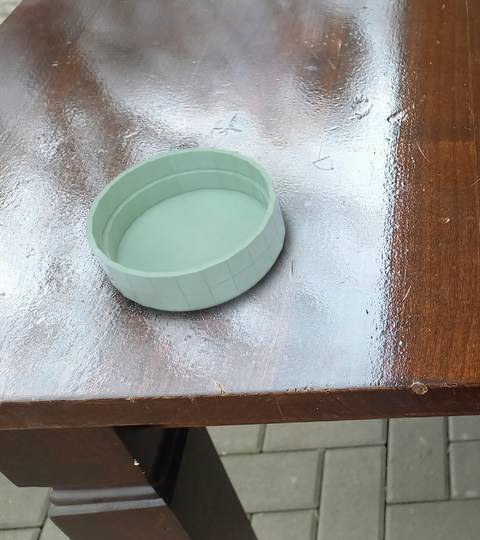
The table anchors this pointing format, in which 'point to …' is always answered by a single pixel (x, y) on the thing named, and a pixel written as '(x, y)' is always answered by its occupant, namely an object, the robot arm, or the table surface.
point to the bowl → (187, 228)
